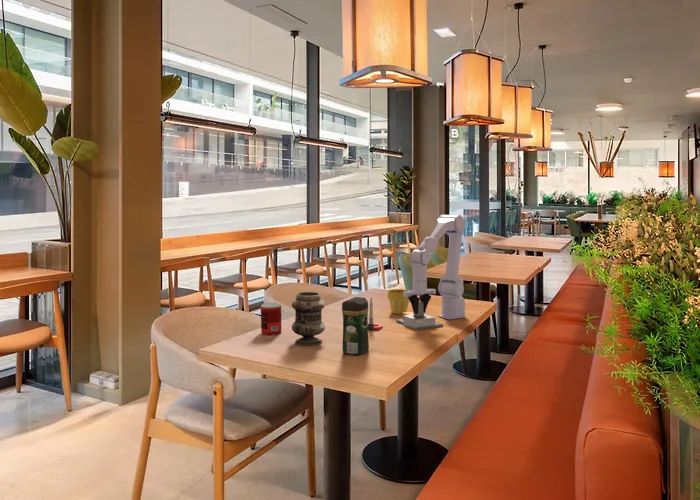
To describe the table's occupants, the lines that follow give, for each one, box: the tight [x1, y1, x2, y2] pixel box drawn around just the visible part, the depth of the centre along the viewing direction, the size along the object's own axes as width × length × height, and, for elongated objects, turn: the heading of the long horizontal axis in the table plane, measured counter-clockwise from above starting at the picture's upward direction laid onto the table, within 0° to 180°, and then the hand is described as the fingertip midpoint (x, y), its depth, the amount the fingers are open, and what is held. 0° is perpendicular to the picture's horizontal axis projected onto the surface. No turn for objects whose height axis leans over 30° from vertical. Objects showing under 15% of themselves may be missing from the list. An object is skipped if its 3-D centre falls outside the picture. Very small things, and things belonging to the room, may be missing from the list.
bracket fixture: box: [395, 311, 444, 331], centre depth 233 cm, size 12×16×4 cm
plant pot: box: [387, 288, 410, 315], centre depth 256 cm, size 10×10×10 cm
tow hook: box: [368, 297, 383, 331], centre depth 228 cm, size 8×13×9 cm
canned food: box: [260, 302, 283, 336], centre depth 220 cm, size 8×8×11 cm
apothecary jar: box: [291, 290, 326, 347], centre depth 206 cm, size 12×12×18 cm
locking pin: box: [414, 300, 425, 318], centre depth 230 cm, size 3×3×8 cm
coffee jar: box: [341, 296, 370, 356], centre depth 193 cm, size 10×8×19 cm
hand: (419, 313), depth 230 cm, fingers closed on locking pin, 3 cm apart
